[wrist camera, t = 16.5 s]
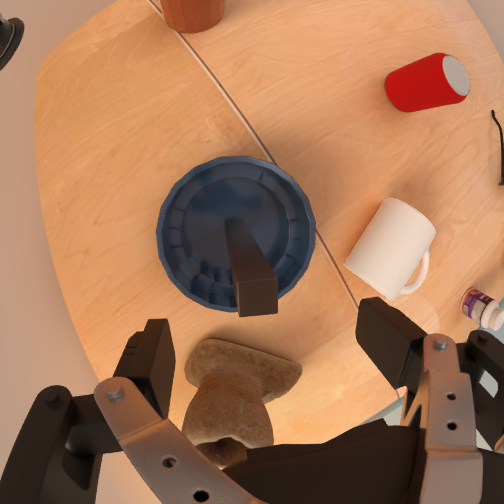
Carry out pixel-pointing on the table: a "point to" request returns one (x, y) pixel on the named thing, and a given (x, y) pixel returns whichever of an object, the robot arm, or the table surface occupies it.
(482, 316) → the pill bottle
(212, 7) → the holder
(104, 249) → the table surface
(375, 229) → the mug
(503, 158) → the eyeglasses
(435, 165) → the table surface
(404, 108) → the beverage can
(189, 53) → the table surface
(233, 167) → the bowl
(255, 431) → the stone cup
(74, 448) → the robot arm
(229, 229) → the stick
